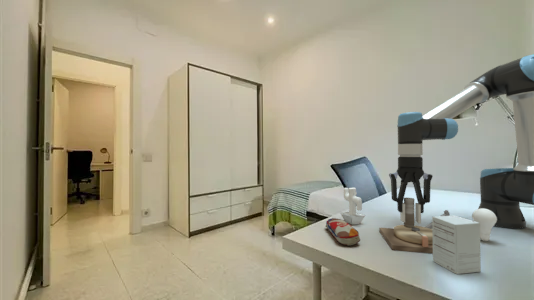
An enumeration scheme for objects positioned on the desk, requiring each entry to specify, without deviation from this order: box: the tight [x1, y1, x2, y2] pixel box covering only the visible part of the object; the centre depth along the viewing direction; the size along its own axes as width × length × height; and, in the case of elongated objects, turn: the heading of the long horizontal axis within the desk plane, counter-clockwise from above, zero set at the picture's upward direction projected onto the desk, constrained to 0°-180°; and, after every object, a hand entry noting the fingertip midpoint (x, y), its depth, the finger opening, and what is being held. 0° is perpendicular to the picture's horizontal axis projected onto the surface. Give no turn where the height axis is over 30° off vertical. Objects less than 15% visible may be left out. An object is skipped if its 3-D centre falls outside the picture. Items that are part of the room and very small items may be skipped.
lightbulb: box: [471, 208, 497, 242], centre depth 80 cm, size 6×6×11 cm
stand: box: [378, 227, 433, 254], centre depth 79 cm, size 19×17×2 cm
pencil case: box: [325, 217, 361, 247], centre depth 85 cm, size 11×20×5 cm, turn 166°
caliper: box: [424, 209, 451, 229], centre depth 93 cm, size 21×1×6 cm, turn 119°
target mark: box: [422, 236, 428, 247], centre depth 72 cm, size 1×1×3 cm
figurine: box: [340, 187, 366, 226], centre depth 101 cm, size 7×9×15 cm
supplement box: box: [431, 214, 482, 275], centre depth 63 cm, size 7×7×13 cm
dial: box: [393, 197, 433, 244], centre depth 79 cm, size 13×13×12 cm
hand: (410, 221), depth 84 cm, fingers open, 4 cm apart
